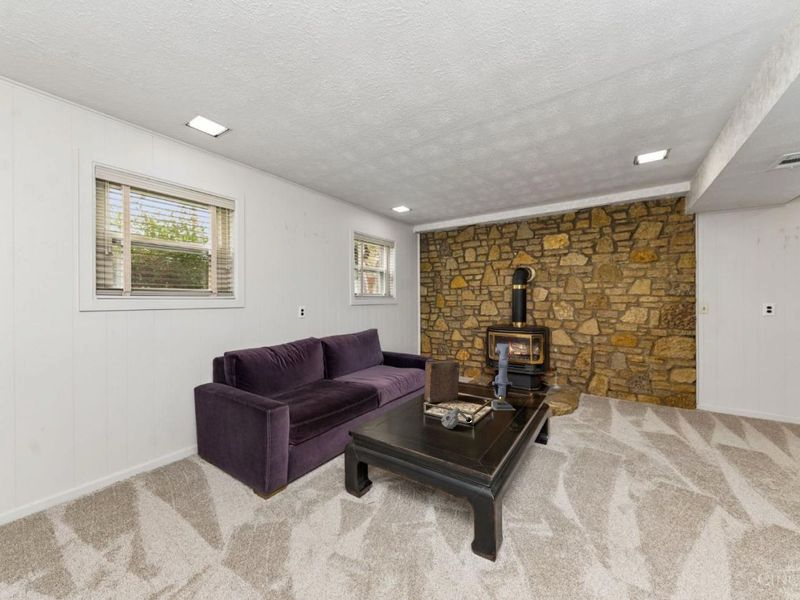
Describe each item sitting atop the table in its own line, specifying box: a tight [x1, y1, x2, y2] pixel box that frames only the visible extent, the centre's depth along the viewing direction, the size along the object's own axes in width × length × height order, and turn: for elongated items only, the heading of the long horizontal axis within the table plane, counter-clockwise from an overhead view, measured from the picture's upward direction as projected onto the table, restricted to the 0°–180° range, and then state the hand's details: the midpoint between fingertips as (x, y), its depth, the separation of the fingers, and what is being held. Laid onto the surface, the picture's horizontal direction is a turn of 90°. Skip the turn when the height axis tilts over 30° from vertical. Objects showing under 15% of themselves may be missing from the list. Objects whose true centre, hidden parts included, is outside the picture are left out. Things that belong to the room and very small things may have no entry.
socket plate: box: [483, 399, 516, 411], centre depth 253 cm, size 22×16×3 cm
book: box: [423, 359, 460, 404], centre depth 261 cm, size 25×9×30 cm, turn 115°
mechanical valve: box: [440, 406, 473, 430], centre depth 213 cm, size 10×18×15 cm
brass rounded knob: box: [498, 395, 506, 405], centre depth 249 cm, size 4×4×8 cm
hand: (501, 394), depth 249 cm, fingers open, 7 cm apart
